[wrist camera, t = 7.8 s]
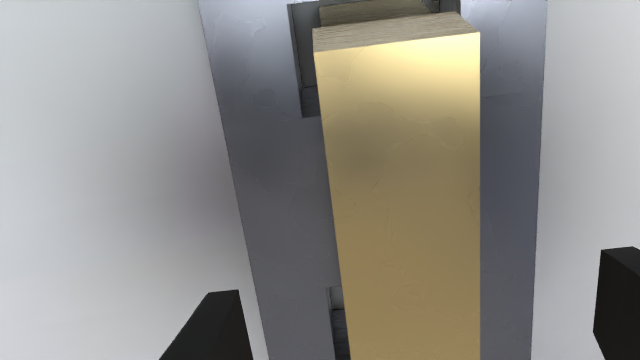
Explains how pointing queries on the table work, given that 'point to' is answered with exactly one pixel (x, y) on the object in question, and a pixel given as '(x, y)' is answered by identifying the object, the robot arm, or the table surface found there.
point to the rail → (313, 181)
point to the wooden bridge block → (403, 175)
